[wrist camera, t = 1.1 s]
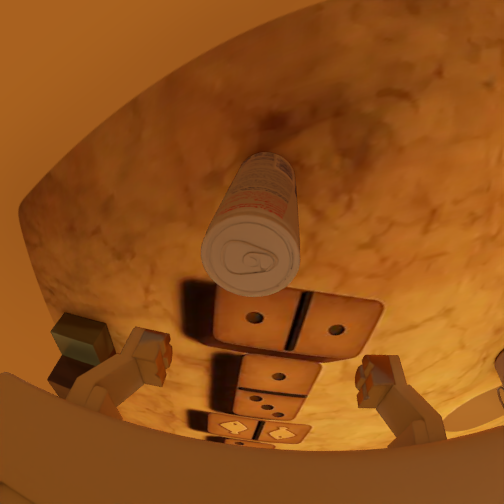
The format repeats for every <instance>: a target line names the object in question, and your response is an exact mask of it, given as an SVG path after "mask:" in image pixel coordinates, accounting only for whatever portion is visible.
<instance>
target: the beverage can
mask: <svg viewBox="0 0 504 504" xmlns="http://www.w3.org/2000/svg"><path fill="white" fill-rule="evenodd" d="M201 259H202V263H203V266H204V268H205V270H206V272H207V273H208V275H209V276H210V277H211V279H212V280H213V281H214V282H216V283H217V284H218V285H219V286H221V287H222V288H224V289H225V290H227V291H230V292H232V293H235V294H238V295H242V296H250V297H259V296H266V295H270V294H273V293H276V292H278V291H280V290H282V289H283V288H285V287H286V286H287V285H289V284H290V282H291V281H292V280H293V279H294V277H295V276H296V274H297V272H298V269H299V265H300V238H299V222H298V207H297V194H296V181H295V173H294V170H293V168H292V166H291V165H290V163H289V162H288V161H287V160H286V159H285V158H283V157H282V156H280V155H278V154H275V153H271V152H261V153H257V154H254V155H252V156H250V157H249V158H247V159H246V160H245V161H244V162H243V164H242V165H241V167H240V169H239V171H238V173H237V174H236V176H235V178H234V180H233V182H232V184H231V185H230V187H229V189H228V191H227V193H226V195H225V197H224V198H223V200H222V202H221V204H220V206H219V208H218V210H217V212H216V214H215V216H214V217H213V219H212V221H211V223H210V225H209V227H208V229H207V232H206V235H205V237H204V240H203V242H202V246H201Z"/></svg>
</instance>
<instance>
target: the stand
mask: <svg viewBox="0 0 504 504" xmlns="http://www.w3.org/2000/svg"><path fill="white" fill-rule="evenodd" d="M51 334H52V336H53V338H54V340H55V342H56V344H57V346H58V347H59V350H60V351H61V353H62V356H61V358H60V359H59V361H58V362H57V364H56V366H55V367H54V369H53V371H52V372H51V374H50V376H49V377H48V382H49V383H50V385H51V386H52V387H53V389H54V390H55V391H56V393H57V395H58V396H59V397H60V398H63V399H66V397H67V396H68V394H69V392H70V390H71V388H72V386H73V384H74V382H75V381H76V379H77V377H79V376H81V375H82V374H84V373H86V372H87V371H89V370H91V369H92V368H94V367H96V366H97V365H99V364H101V363H102V362H104V361H105V360H107V359H109V358H110V357H112V356H114V355H115V354H116V351H115V349H114V346H113V343H112V340H111V337H110V335H109V332H108V329H107V326H106V324H105V323H101V322H97V321H94V320H90V319H86V318H82V317H79V316H75V315H72V314H68V313H64V314H63V315H62V317H61V318H60V319H59V321H58V322H57V323H56V325H55V326H54V327H53V329H52V330H51Z"/></svg>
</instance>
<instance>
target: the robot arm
mask: <svg viewBox="0 0 504 504" xmlns="http://www.w3.org/2000/svg"><path fill="white" fill-rule="evenodd" d="M170 340H171V339H170V334H168V333H163V332H159V331H154V330H150V329H145V328H140V327H135V328H134V329H133V330H132V332H131V334H130V336H129V338H128V340H127V342H126V344H125V346H124V347H123V349H122V351H121V353H120V354H118V353H117V354H115V355H114V356H112V357H110V358H109V359H107V360H105V361H104V362H102V363H101V364H99V365H97V366H96V367H94V368H92V369H91V370H89V371H87V372H86V373H84V374H82V375H81V376H79V377H77V379H76V381H75V382H74V384H73V386H72V388H71V390H70V392H69V394H68V396H67V397H66V399H63V398H60V397H58V396H55V395H53V394H51V393H49V392H47V391H45V390H42V389H40V388H38V387H36V386H34V385H32V384H30V383H28V382H26V381H24V380H22V379H20V378H18V377H16V376H15V375H13V374H11V373H7V372H4V373H1V374H0V504H504V426H498V427H495V428H491V429H488V430H484V431H480V432H477V433H473V434H469V435H464V436H460V437H456V438H451V439H447V437H446V433H445V429H444V425H443V421H442V417H441V416H440V415H439V414H438V413H437V412H436V411H435V410H434V409H433V408H432V406H431V405H430V404H429V403H428V402H427V401H426V400H425V399H424V398H423V397H422V396H420V395H419V394H418V393H417V392H416V391H415V390H414V389H413V388H412V387H411V386H410V385H407V383H406V380H405V376H404V372H403V369H402V365H401V362H400V358H399V356H398V355H365V356H364V357H363V359H362V365H360V366H359V367H358V369H357V371H356V375H355V386H356V388H357V389H358V390H359V393H358V394H357V401H358V408H376V410H377V411H378V413H379V414H380V415H381V417H382V418H383V419H384V421H385V422H386V424H387V425H388V426H389V428H390V429H391V430H392V432H393V433H394V435H395V436H396V437H397V438H396V439H395V440H393V441H392V442H391V443H390V444H389V445H388V448H384V449H371V450H354V451H297V450H279V449H266V448H256V447H247V446H238V445H231V444H224V443H217V442H211V441H206V440H200V439H195V438H190V437H185V436H180V435H176V434H171V433H167V432H163V431H159V430H155V429H151V428H147V427H143V426H140V425H136V424H133V423H130V422H126V421H123V418H122V416H121V414H120V413H119V411H118V409H117V408H116V407H117V406H118V405H120V404H121V403H122V402H123V401H124V400H126V399H127V398H128V397H129V396H131V395H132V394H133V393H134V392H135V391H137V390H138V389H139V388H140V387H141V386H143V385H144V383H145V384H149V385H154V386H159V387H162V386H163V384H164V381H165V378H166V369H167V368H169V367H170V364H171V361H172V346H171V345H170V344H169V342H170Z"/></svg>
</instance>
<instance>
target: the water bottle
mask: <svg viewBox="0 0 504 504" xmlns="http://www.w3.org/2000/svg"><path fill="white" fill-rule="evenodd" d="M495 368H496V371H497V373H498V375H499V377H500V380H501V382H502V385H503V387H504V350H503V351H502V352H501V353H500V355H499V356H498V357H497V358H496V361H495ZM503 387H499V388H498V389H497V392H498V397H499V400H500V402H501V404H502V406H503V408H504V404H503V402H502V400H501V397H500V392H499V389H500V388H502V389H503V390H504V388H503Z"/></svg>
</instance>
